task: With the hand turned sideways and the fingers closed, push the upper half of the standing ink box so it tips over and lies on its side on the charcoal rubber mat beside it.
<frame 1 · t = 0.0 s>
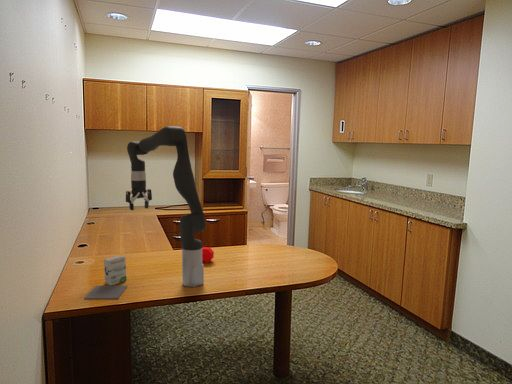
hand: (139, 209, 199), 29 cm above the table, tool pointing down, fingers open, 8 cm apart
ball: (205, 261, 205), on the table
ink box: (115, 282, 173), on the table
charcoal mat: (106, 292, 161), on the table
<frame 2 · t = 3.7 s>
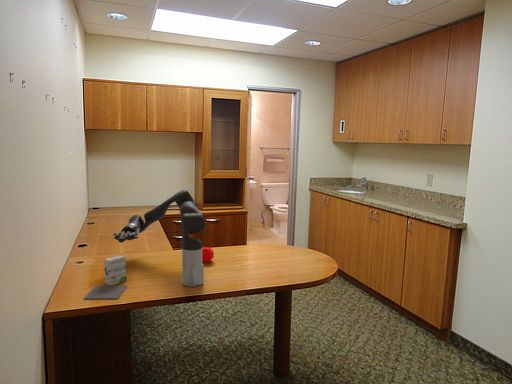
hand: (120, 240, 181), 17 cm above the table, tool horizontal, fingers closed
nothing on the table moved.
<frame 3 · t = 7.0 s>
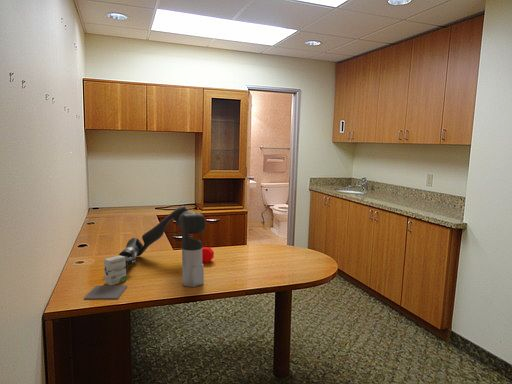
hand: (117, 266, 176), 6 cm above the table, tool horizontal, fingers closed
ink box: (115, 282, 173), on the table, touching gripper
everything else where it was.
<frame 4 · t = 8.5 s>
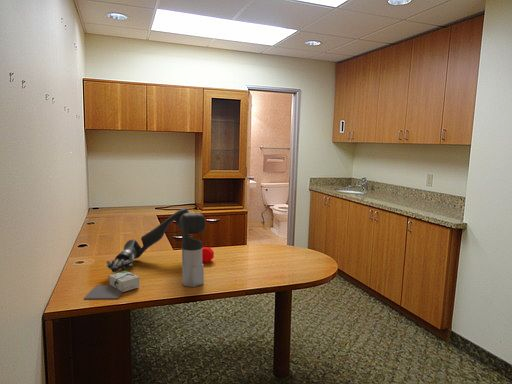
hand: (113, 270, 170), 7 cm above the table, tool horizontal, fingers closed
ink box: (117, 277, 171), point 3 cm above the table, touching charcoal mat
everything else where it was.
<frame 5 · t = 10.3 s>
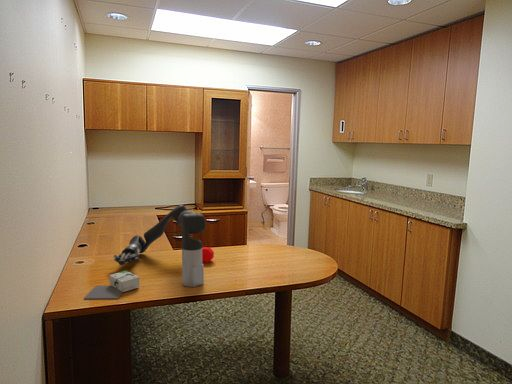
hand: (120, 263, 181), 6 cm above the table, tool horizontal, fingers closed
nothing on the table moved.
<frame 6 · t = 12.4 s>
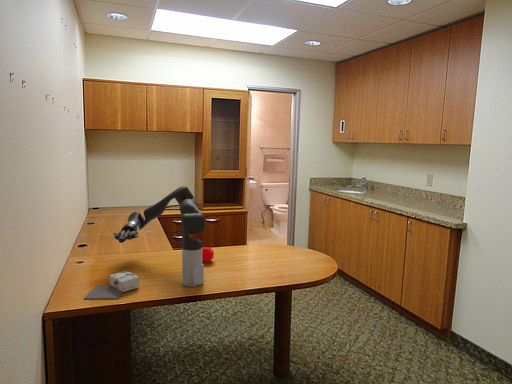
hand: (121, 241, 180), 17 cm above the table, tool horizontal, fingers closed
nothing on the table moved.
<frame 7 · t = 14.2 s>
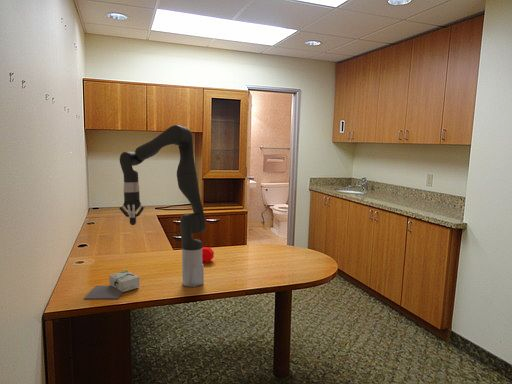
hand: (133, 224, 189), 23 cm above the table, tool pointing down, fingers closed
nothing on the table moved.
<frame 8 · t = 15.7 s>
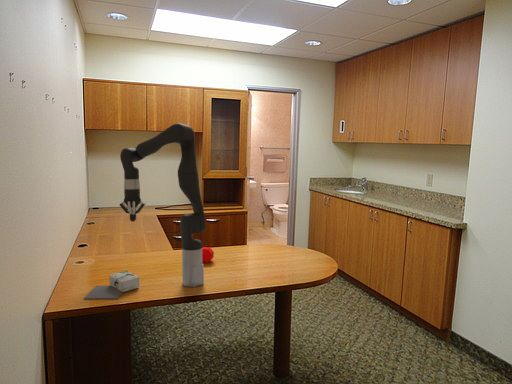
hand: (133, 221, 189), 25 cm above the table, tool pointing down, fingers closed
nothing on the table moved.
at the end: ink box tilted 91°; ink box inside the target area (3.9 cm from its centre), point 3.1 cm above the table; ink box touching charcoal mat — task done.
